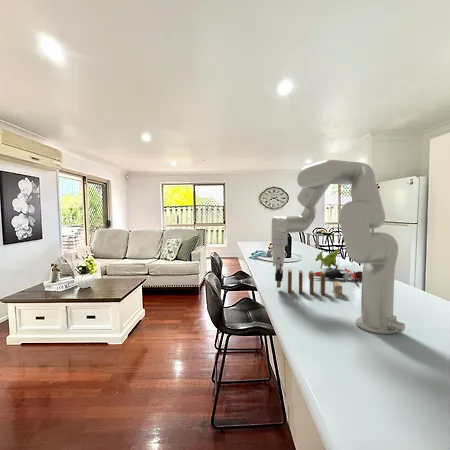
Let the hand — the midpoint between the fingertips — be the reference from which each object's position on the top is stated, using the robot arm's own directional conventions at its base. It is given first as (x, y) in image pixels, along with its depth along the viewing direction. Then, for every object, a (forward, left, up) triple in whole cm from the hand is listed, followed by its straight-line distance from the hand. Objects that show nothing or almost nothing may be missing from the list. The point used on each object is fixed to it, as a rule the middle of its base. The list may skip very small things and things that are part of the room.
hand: (279, 279), depth 141 cm
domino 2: (-4, -3, -6) cm, 8 cm away
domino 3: (-7, -7, -6) cm, 12 cm away
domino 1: (0, 0, -4) cm, 4 cm away
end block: (-19, -19, -6) cm, 27 cm away
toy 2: (+1, -43, -6) cm, 43 cm away
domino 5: (-14, -14, -6) cm, 21 cm away
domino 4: (-11, -11, -6) cm, 16 cm away
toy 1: (+23, -63, -6) cm, 67 cm away
